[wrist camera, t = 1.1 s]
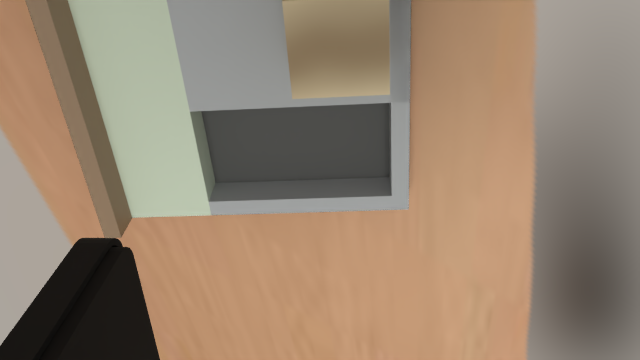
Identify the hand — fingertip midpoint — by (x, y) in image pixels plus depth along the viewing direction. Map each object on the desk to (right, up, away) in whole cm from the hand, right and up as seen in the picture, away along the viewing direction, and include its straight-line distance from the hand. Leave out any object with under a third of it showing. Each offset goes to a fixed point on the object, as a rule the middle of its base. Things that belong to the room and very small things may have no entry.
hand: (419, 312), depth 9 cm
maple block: (-1, +10, +20) cm, 22 cm away
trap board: (-6, +11, +22) cm, 26 cm away
